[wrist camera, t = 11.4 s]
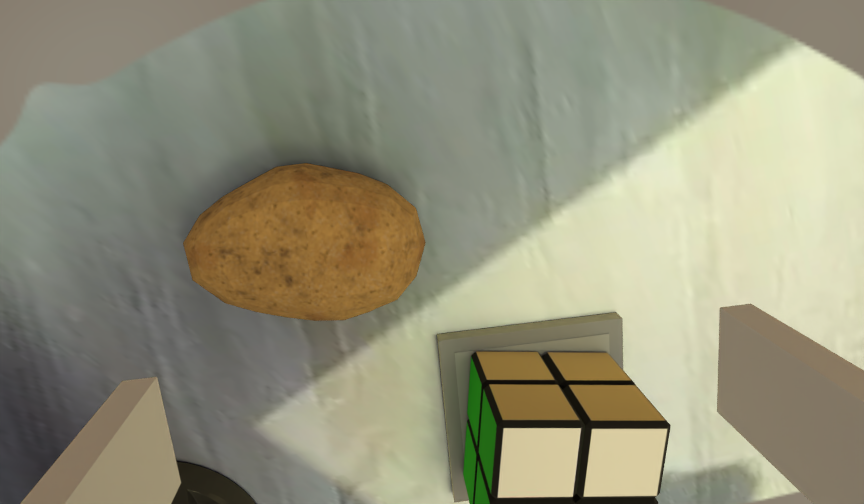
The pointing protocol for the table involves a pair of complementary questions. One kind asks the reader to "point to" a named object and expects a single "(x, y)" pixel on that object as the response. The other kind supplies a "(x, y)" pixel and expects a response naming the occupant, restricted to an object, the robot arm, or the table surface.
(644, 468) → the puzzle cube
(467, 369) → the trivet
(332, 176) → the potato
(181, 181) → the table surface
